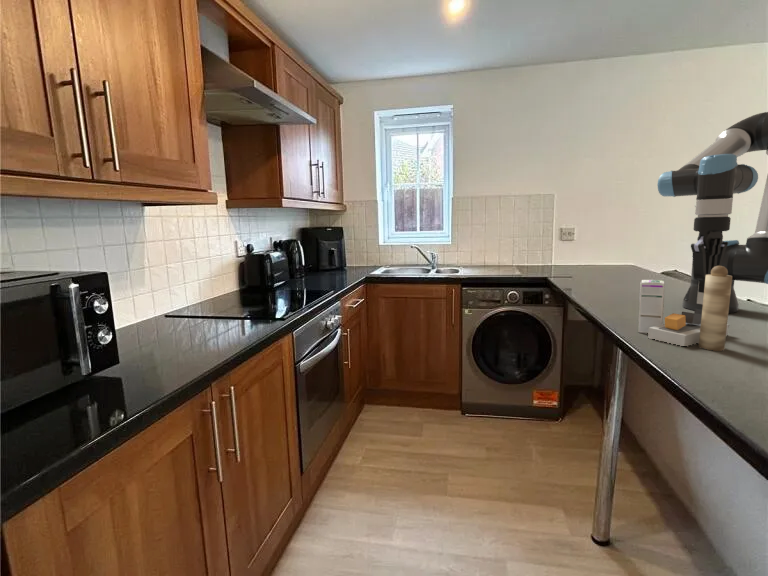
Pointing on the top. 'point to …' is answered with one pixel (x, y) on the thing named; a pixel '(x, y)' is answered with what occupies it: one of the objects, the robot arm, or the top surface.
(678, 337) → the breaker strip
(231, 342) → the top surface
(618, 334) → the top surface
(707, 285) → the pepper mill
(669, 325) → the paddle
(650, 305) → the syrup box
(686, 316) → the paddle middle
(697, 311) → the paddle
